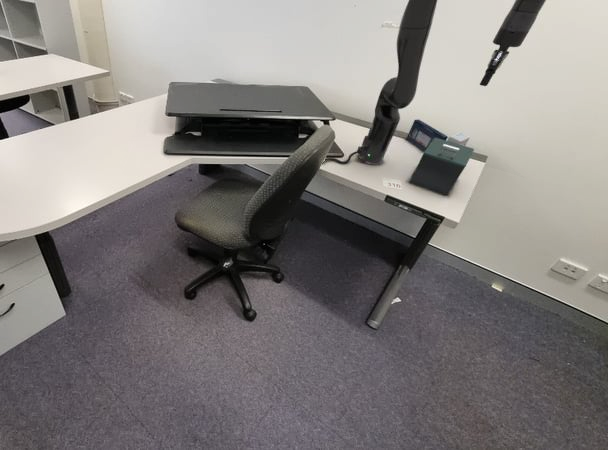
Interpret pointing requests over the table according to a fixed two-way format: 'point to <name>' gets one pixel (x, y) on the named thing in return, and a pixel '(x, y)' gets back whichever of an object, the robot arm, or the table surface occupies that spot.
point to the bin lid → (449, 152)
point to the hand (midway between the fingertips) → (483, 85)
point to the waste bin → (436, 175)
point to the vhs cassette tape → (423, 135)
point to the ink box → (459, 139)
